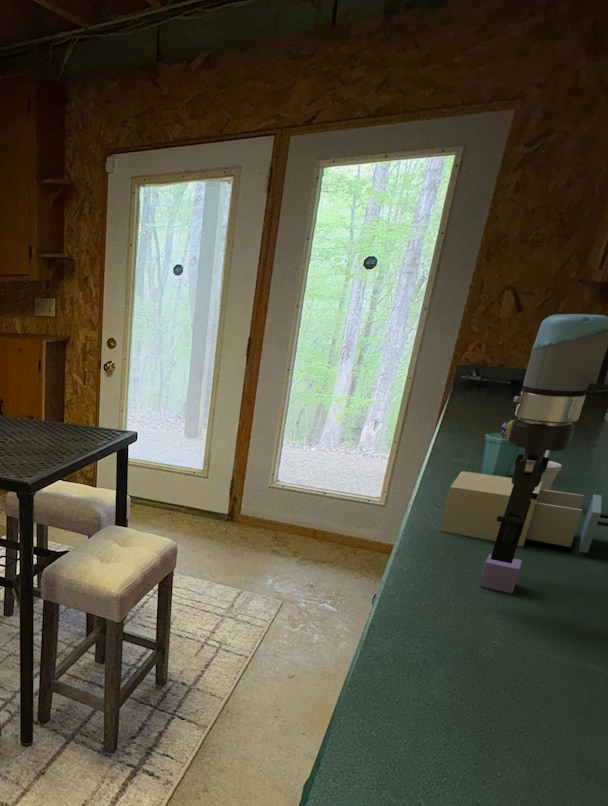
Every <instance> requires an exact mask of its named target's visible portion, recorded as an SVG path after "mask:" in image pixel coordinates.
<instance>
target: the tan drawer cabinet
mask: <svg viewBox="0 0 608 806" xmlns="http://www.w3.org/2000/svg"><path fill="white" fill-rule="evenodd" d="M511 481H512V477H508V476H507V477H501V476H494V475H486V474H481V473H478V472H471V471H465V470H461V471H460V473H459V474H458V475H457V477H456V478H455V479H454V481H453V483H452V484H451V485H450V487H449V490H448V496H447V499H446V503H445V506H444V507H445V508H444V511H443V517H442V519H441V524H440V528H439V531H440V532H443V533H444V532H445V533H450V534H455V535H460V536H465V537H470V538H475V539H481V540H486V541H490V542H491V541H492V542H496V539H497V535H498V532H499V528H500V525H501V522H498V521H497V517H498V516H501V517H503V516H504V514H505V511H506V508H507V504H508V501H509V498H510V495H511V491H512V488H513V485H514V484H512V482H511ZM541 485H542V482H540V484H539V486H538V487H535V491H533V493H537V494H538V495H539V491H540V488H541ZM537 498H538V497H537ZM530 500H532V501H531V504H530V507H529V510H528V514H527V517H526V520H525V523H524V527H523V530H522V533H521V536H520V538H519V542H518V545H517V547H518V546H519V547H524V545H525V541H526V540H527V539H526V535H527V532H528V528H529V525H530V522H531V518H532V515H533V511H534V508H535V505H536V501H537V500H533V499H530Z"/></svg>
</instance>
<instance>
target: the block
mask: <svg viewBox="0 0 608 806" xmlns="http://www.w3.org/2000/svg"><path fill="white" fill-rule="evenodd" d="M491 556H492V553H488V556H487V558H486V561H485V563H484V567H483V570H482V574H481V578H480V581H479V587H482V588H486V589H491V590H495V591H498V592H503V593H508V594H513V593H514V590H515V587H516V583H517V580H518V576H519V572H520V570H521V566H522V562H523V560H522V559H518V558H513V561H512V564H511V563H506V562H501V561H497V560H492V559H491Z"/></svg>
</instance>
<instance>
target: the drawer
mask: <svg viewBox="0 0 608 806" xmlns="http://www.w3.org/2000/svg"><path fill="white" fill-rule="evenodd" d="M584 496H585V495H584V494H580V493H579V494H578V493H572V492H566V491H558V490H551V489H550V490H545V489H540V491H539V495H538V498H537V501H536V505H535V508H534V511H533V515H532V518H531V522H530V525H529V528H528V532H527V535H526V539H525V540H530V541H535V542H541V543H546V544H552V545H557V546H563V547H567V548H568V547H569V548H571V547H572V545H573V544H572V543H573V541H574V538H575V534H576V531H577V529H578V525H579V522H580V520H581V516H582V513H583V509H582V508H581V507H582V503H583V501H584ZM602 500H603V499H602V495H601V494H593V495H592V497H591V500H590V504H589V507H588V508H587V509H588V510H587V512H586V516H585V518H584V522H583V525H582V528H581V531H580V539H579V540H580V541H579V549H578V550H579V552H580V553H586V554H588V553H589V550H590V547H591V545H592V541H593V539H594V535H595V532H596V530H597V527H598V526H601V527H602V526H603V527H608V522H606V521H602V520H601V521H600V519H607V520H608V514H606V513H605V514H604V513H602Z"/></svg>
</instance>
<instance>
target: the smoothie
mask: <svg viewBox="0 0 608 806" xmlns="http://www.w3.org/2000/svg"><path fill="white" fill-rule="evenodd" d="M550 452H551V450H546V451H545V454H544V457H549V456H550ZM562 465H563V464H561V463H559V462H555V461H552V460H549V462H548V465H547V468H546V471H545V472H544V473H543V474H542V477H541V480H540V482H542V485H541V488H540V489H545V490H551V488H552V485H553V483H554V481H555V479H556V477H557V475H558V473H559V472H560V471H561V470H562Z"/></svg>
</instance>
